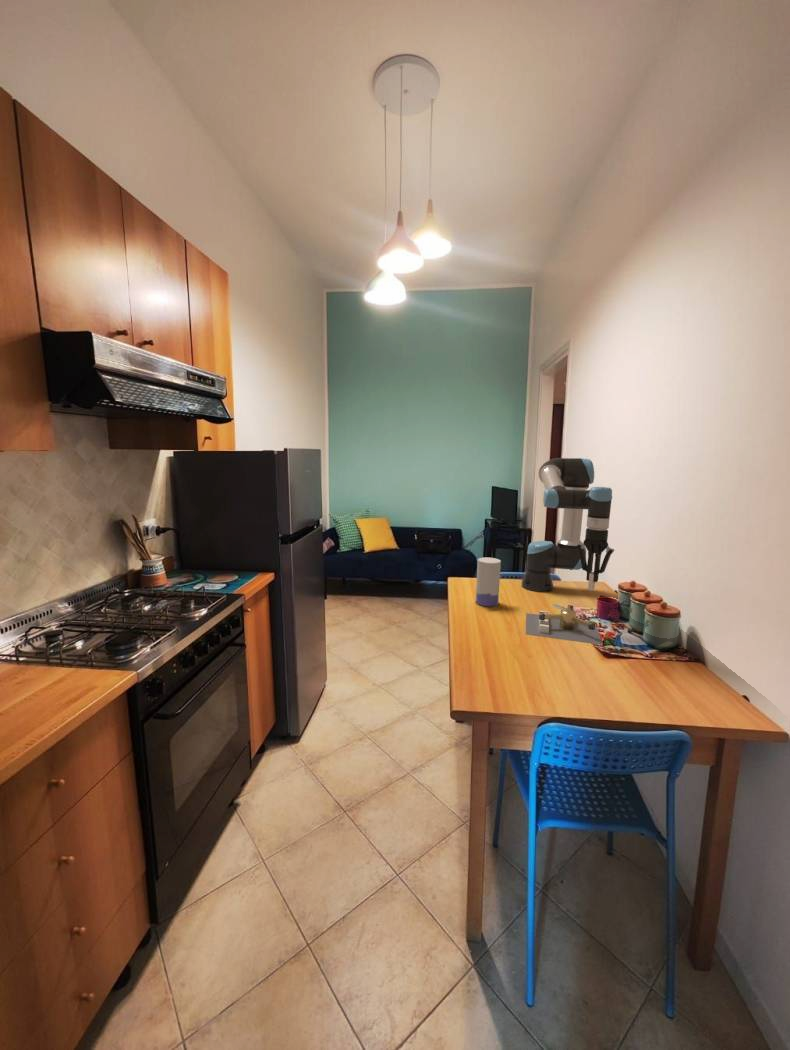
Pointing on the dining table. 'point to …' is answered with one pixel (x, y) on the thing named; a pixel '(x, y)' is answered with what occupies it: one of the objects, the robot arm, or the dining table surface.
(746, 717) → the dining table surface
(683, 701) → the dining table surface
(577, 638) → the stand
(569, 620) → the gold quadcopter drone
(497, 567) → the container
